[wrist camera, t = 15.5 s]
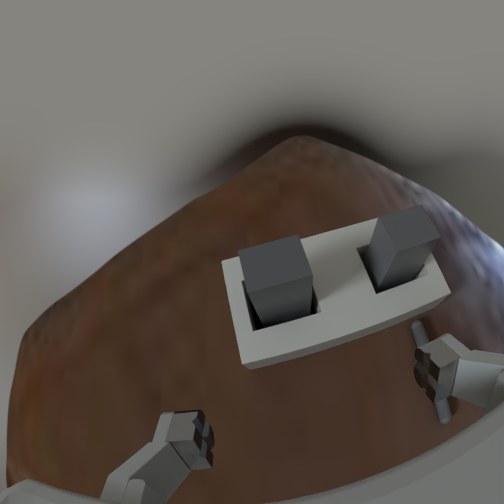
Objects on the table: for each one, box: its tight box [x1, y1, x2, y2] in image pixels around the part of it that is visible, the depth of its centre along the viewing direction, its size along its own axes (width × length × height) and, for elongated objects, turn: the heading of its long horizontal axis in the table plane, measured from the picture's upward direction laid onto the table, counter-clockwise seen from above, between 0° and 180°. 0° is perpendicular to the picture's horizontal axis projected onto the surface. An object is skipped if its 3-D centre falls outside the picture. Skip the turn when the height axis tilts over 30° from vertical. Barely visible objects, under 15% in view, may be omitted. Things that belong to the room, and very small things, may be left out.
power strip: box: [222, 205, 452, 424], centre depth 18 cm, size 20×18×8 cm
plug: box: [238, 234, 313, 328], centre depth 21 cm, size 3×4×9 cm
